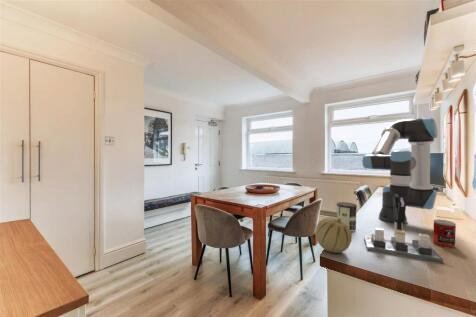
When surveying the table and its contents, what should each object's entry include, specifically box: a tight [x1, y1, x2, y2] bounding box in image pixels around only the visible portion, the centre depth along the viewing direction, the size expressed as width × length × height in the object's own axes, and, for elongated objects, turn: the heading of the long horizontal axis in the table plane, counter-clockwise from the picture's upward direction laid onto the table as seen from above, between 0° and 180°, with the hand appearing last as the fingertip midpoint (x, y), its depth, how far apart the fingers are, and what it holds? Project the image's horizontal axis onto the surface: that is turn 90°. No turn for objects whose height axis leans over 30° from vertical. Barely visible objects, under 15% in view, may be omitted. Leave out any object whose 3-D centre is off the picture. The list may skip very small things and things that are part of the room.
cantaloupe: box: [314, 216, 353, 254], centre depth 96 cm, size 15×15×15 cm
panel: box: [363, 227, 444, 264], centre depth 98 cm, size 14×26×9 cm, turn 65°
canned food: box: [432, 219, 457, 249], centre depth 104 cm, size 8×8×11 cm
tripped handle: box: [394, 229, 406, 243], centre depth 97 cm, size 2×3×5 cm
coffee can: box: [336, 201, 358, 232], centre depth 126 cm, size 10×10×14 cm
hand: (398, 236), depth 99 cm, fingers closed
